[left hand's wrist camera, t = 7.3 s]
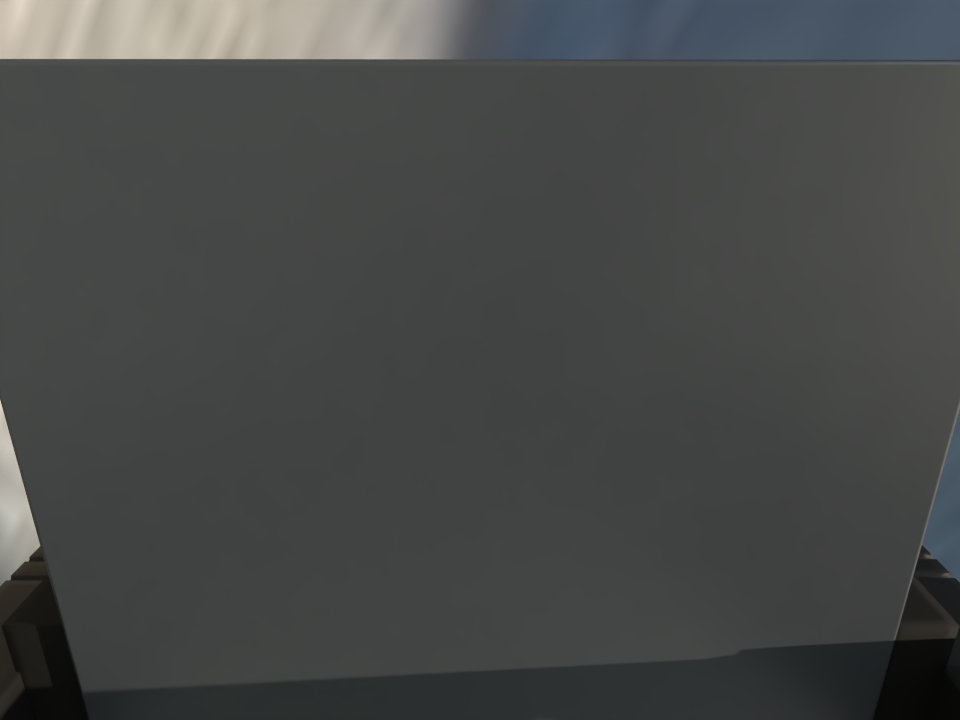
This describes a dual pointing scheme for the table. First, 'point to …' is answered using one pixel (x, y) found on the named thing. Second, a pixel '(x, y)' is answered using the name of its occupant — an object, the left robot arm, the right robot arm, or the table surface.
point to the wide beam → (480, 379)
